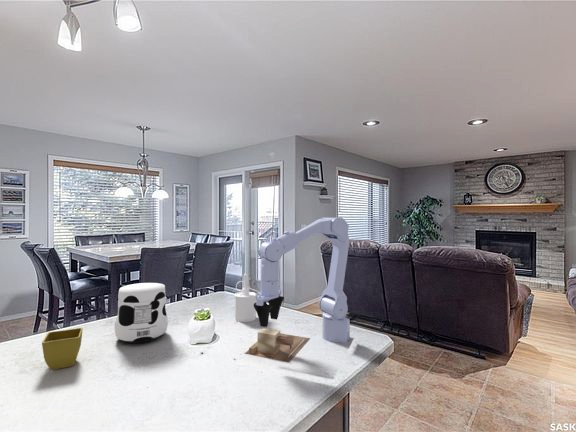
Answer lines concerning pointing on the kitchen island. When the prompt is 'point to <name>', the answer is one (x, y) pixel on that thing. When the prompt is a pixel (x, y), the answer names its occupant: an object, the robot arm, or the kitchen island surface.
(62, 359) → the flower pot
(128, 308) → the milk container
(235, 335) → the kitchen island surface
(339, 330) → the robot arm
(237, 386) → the kitchen island surface
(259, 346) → the mallet
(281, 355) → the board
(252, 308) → the white soap dispenser
